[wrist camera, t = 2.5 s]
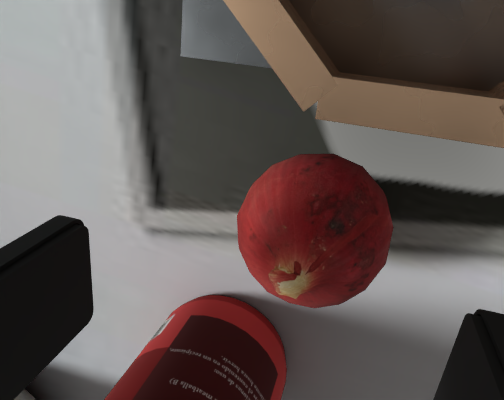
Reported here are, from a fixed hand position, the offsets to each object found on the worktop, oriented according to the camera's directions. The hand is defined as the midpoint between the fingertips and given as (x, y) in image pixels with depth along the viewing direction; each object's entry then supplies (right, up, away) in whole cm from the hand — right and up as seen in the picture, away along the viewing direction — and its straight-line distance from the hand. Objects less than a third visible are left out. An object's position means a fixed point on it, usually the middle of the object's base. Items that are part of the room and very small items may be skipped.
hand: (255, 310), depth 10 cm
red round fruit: (+3, +3, +9) cm, 10 cm away
